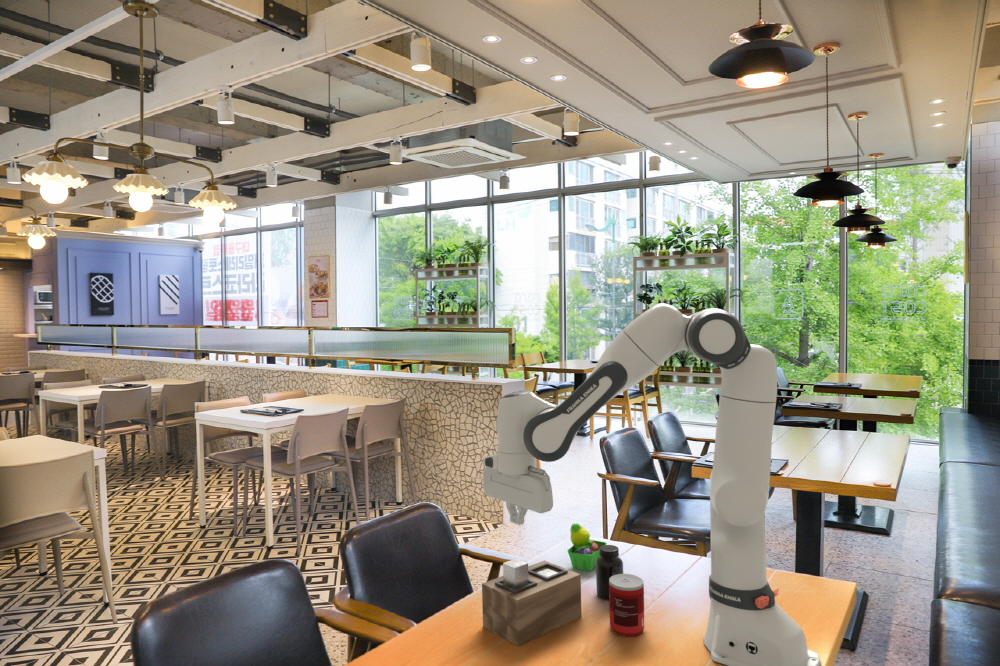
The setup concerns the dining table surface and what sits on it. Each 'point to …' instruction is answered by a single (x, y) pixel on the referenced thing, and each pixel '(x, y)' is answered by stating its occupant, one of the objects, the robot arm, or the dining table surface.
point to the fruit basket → (583, 548)
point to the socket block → (532, 604)
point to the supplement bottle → (607, 568)
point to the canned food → (626, 604)
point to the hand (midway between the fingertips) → (517, 523)
